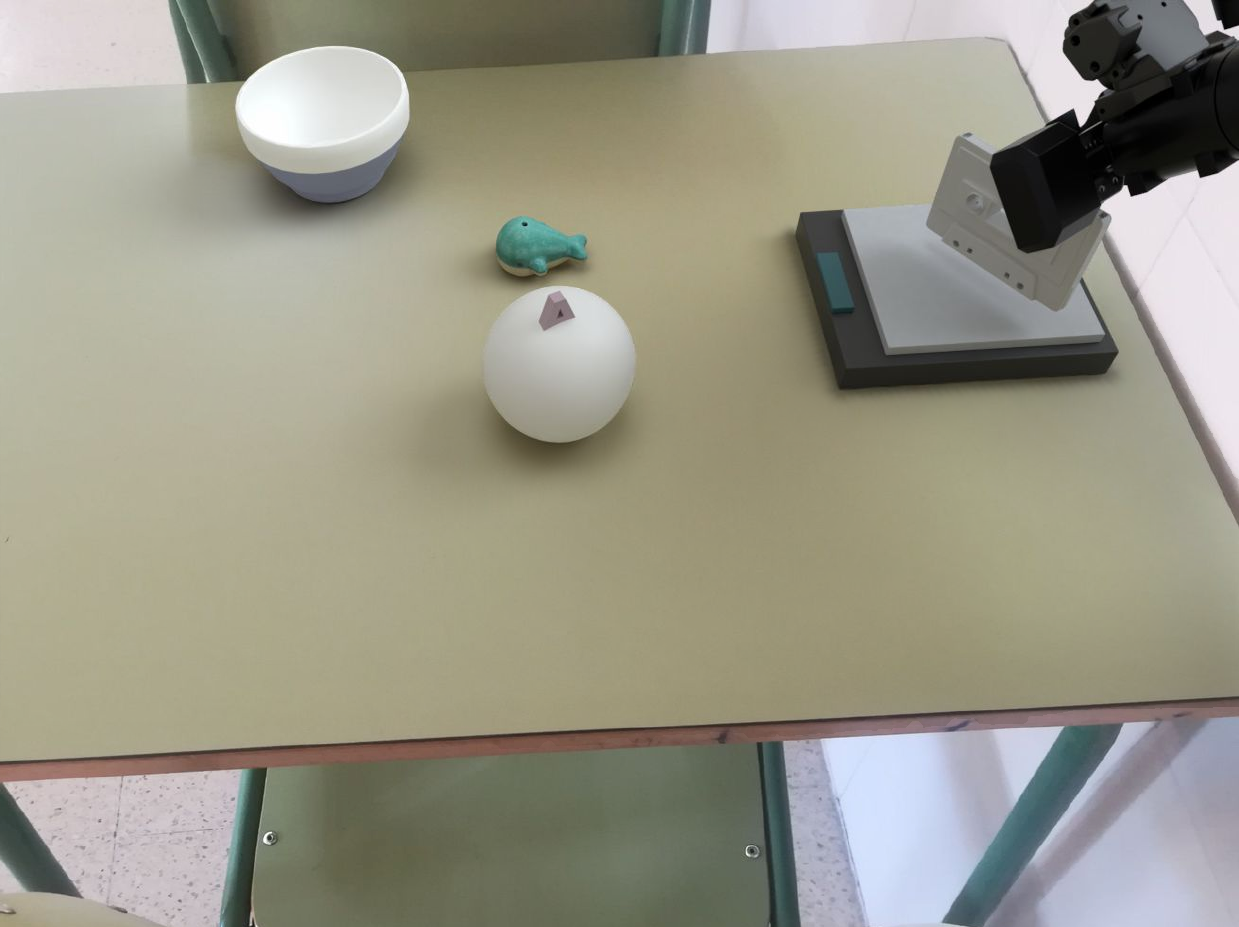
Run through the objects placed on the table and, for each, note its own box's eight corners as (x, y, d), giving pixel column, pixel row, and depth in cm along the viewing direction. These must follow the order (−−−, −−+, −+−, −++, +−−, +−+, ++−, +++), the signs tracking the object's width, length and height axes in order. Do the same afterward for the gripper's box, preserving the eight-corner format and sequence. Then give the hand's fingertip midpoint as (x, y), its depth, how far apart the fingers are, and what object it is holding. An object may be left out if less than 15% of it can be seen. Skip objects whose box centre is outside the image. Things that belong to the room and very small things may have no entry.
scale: (1032, 218, 84) (1046, 187, 82) (1106, 373, 75) (1125, 343, 73) (794, 234, 85) (802, 203, 83) (839, 389, 76) (848, 360, 73)
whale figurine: (499, 237, 87) (496, 199, 84) (587, 237, 86) (588, 198, 83) (495, 286, 84) (492, 248, 81) (586, 286, 83) (588, 247, 80)
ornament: (566, 494, 72) (568, 372, 62) (459, 421, 76) (444, 296, 66) (658, 408, 76) (673, 280, 66) (551, 343, 80) (550, 213, 70)
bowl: (427, 213, 89) (417, 134, 83) (258, 238, 89) (235, 160, 82) (408, 113, 97) (397, 34, 91) (252, 136, 97) (231, 58, 90)
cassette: (1071, 305, 72) (1120, 213, 66) (1052, 317, 72) (1100, 226, 66) (936, 218, 78) (969, 125, 72) (919, 228, 78) (950, 136, 71)
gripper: (1318, -113, 56) (1065, 9, 71) (1087, 13, 51) (866, 115, 66) (1368, 88, 59) (1115, 165, 74) (1153, 226, 54) (927, 280, 69)
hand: (1009, 177), depth 70 cm, fingers closed on cassette, 1 cm apart
